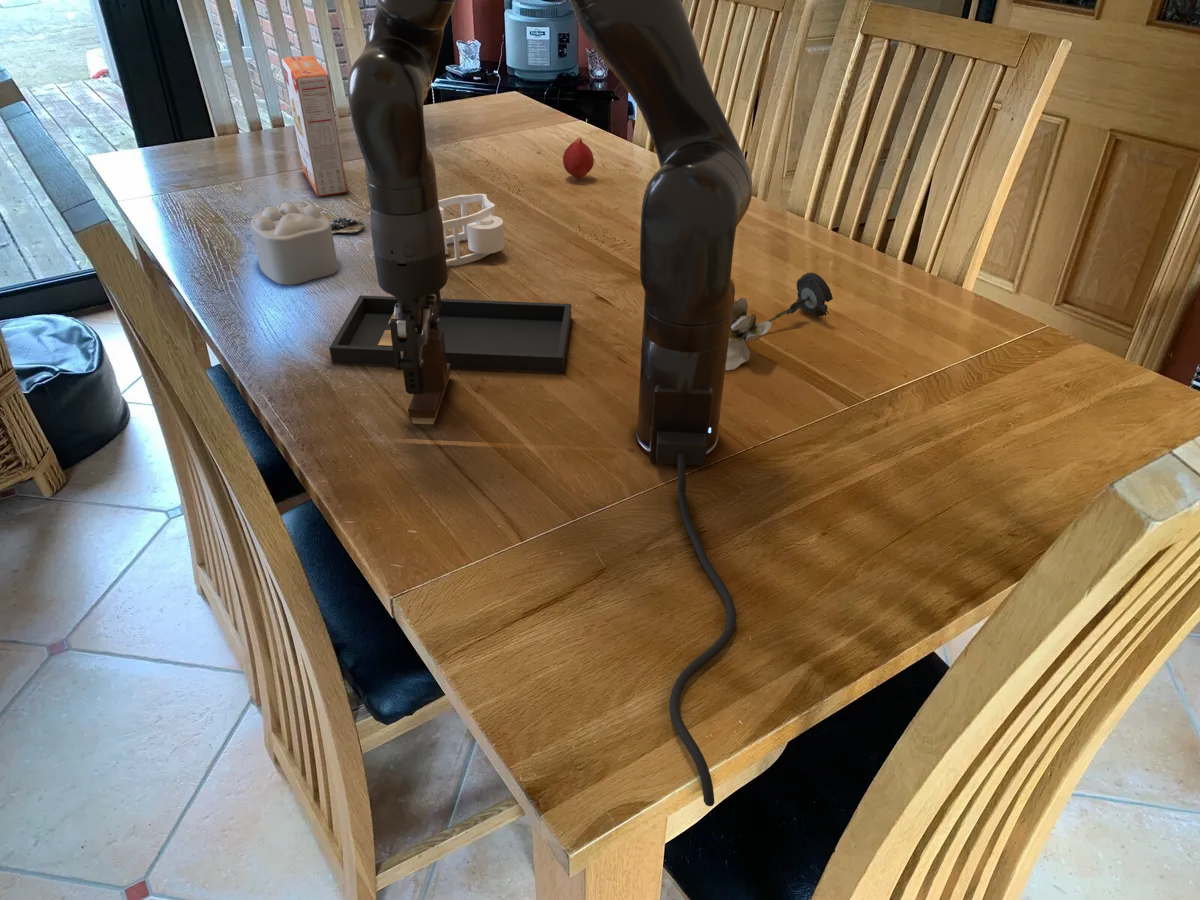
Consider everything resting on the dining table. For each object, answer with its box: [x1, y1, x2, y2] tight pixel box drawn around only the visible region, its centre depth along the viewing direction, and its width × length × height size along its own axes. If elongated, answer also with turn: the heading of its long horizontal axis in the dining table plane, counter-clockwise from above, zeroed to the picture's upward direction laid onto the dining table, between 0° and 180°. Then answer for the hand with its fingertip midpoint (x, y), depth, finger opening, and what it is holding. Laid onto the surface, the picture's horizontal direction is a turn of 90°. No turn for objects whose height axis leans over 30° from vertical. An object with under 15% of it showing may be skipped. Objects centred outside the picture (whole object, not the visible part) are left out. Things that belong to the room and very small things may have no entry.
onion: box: [562, 137, 595, 181], centre depth 169 cm, size 6×6×8 cm
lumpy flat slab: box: [330, 216, 366, 234], centre depth 149 cm, size 7×8×2 cm
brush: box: [407, 329, 452, 425], centre depth 105 cm, size 10×4×10 cm, turn 177°
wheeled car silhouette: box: [438, 193, 505, 266], centre depth 139 cm, size 20×11×7 cm, turn 132°
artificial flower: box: [725, 272, 834, 372], centre depth 120 cm, size 9×22×10 cm, turn 127°
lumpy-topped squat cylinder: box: [250, 202, 339, 286], centre depth 136 cm, size 10×13×9 cm
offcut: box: [378, 330, 392, 347], centre depth 117 cm, size 4×4×2 cm
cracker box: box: [281, 54, 349, 198], centre depth 160 cm, size 14×6×21 cm, turn 25°
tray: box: [328, 294, 572, 374], centre depth 119 cm, size 15×30×3 cm, turn 87°
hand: (423, 372), depth 105 cm, fingers open, 8 cm apart
